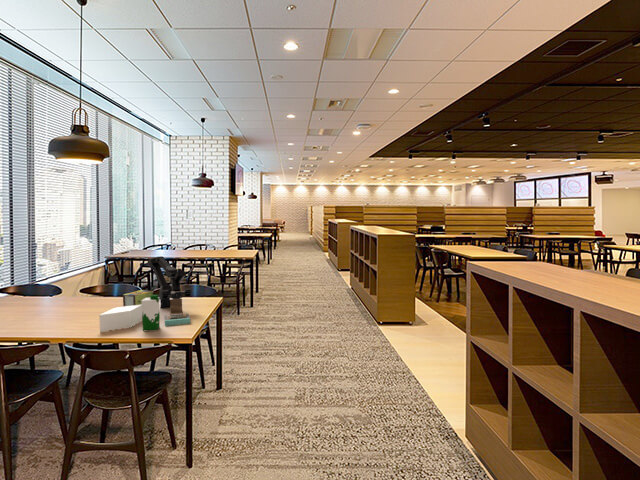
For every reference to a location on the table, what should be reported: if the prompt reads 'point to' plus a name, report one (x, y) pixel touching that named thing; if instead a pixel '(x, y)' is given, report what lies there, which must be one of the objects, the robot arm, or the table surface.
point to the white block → (120, 317)
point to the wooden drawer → (176, 309)
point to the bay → (177, 321)
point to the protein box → (135, 297)
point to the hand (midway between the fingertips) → (177, 304)
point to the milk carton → (150, 313)
